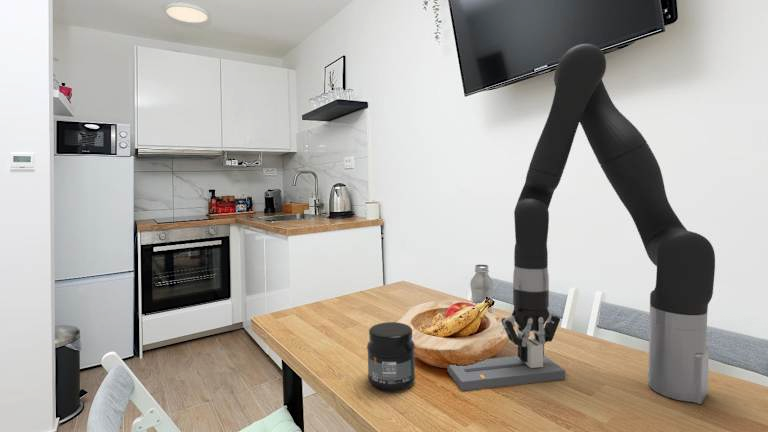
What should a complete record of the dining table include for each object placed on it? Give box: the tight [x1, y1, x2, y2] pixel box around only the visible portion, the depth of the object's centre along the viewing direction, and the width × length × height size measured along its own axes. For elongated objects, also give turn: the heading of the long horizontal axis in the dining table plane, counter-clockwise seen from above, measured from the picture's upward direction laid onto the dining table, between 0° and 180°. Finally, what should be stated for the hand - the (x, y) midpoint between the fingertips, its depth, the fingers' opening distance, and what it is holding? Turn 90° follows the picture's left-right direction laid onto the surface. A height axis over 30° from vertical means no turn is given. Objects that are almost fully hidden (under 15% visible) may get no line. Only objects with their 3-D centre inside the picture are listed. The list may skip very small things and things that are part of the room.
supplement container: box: [366, 321, 416, 393], centre depth 84 cm, size 10×10×12 cm
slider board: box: [447, 354, 566, 392], centre depth 86 cm, size 24×9×2 cm, turn 100°
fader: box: [519, 336, 543, 368], centre depth 87 cm, size 3×5×5 cm, turn 10°
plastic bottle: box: [469, 264, 494, 315], centre depth 111 cm, size 6×7×20 cm
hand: (530, 359), depth 87 cm, fingers closed on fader, 3 cm apart
